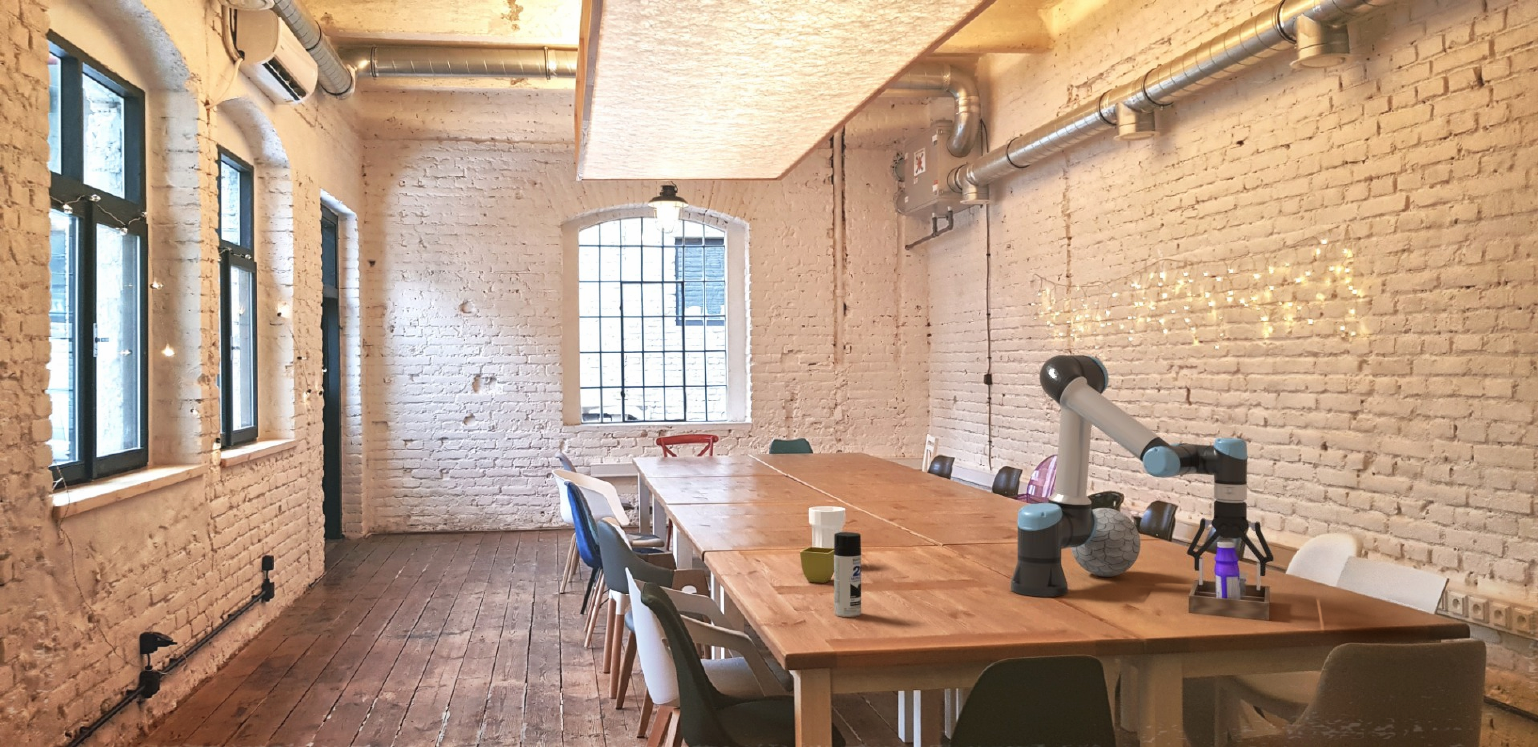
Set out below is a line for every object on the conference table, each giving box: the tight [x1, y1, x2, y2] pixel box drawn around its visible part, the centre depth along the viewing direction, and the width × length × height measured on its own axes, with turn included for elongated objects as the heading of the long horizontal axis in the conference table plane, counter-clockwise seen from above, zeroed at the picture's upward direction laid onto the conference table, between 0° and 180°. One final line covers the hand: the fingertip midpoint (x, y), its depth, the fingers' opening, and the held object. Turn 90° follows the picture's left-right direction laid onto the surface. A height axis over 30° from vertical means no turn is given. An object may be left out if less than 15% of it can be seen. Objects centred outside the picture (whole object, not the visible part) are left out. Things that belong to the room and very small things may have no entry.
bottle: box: [1214, 539, 1241, 600], centre depth 265 cm, size 7×6×17 cm
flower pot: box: [799, 546, 834, 584], centre depth 303 cm, size 9×9×9 cm
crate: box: [1188, 579, 1271, 622], centre depth 270 cm, size 18×22×5 cm
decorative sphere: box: [1070, 507, 1141, 578], centre depth 313 cm, size 20×20×20 cm
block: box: [1215, 572, 1248, 596], centre depth 275 cm, size 7×8×7 cm
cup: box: [808, 505, 847, 548], centre depth 327 cm, size 11×11×17 cm
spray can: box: [833, 531, 862, 618], centre depth 263 cm, size 7×7×20 cm
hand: (1229, 586), depth 265 cm, fingers open, 12 cm apart
